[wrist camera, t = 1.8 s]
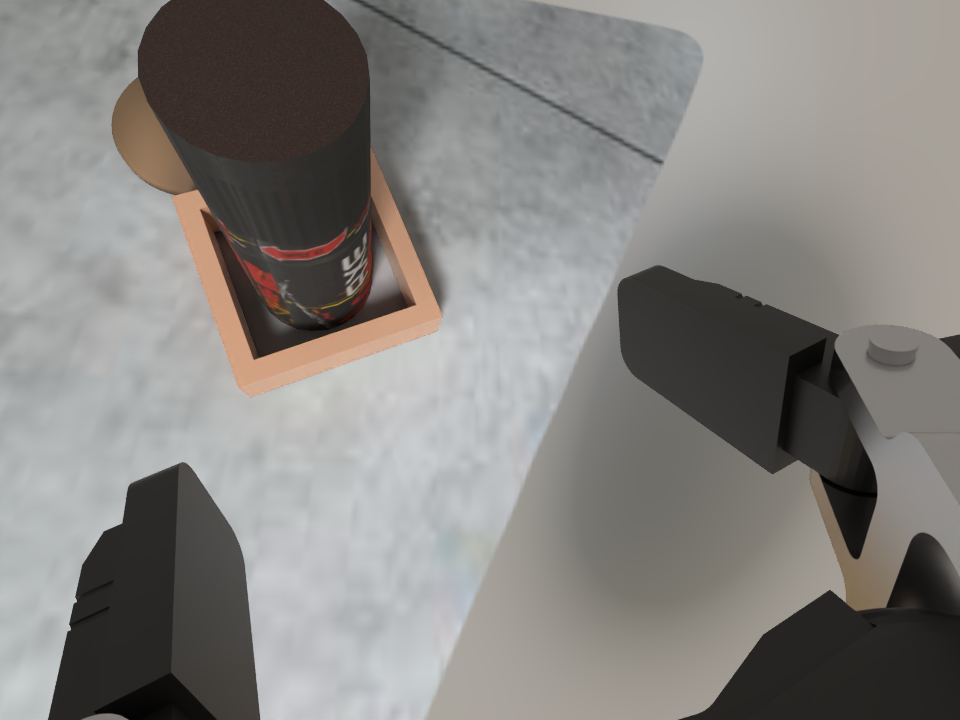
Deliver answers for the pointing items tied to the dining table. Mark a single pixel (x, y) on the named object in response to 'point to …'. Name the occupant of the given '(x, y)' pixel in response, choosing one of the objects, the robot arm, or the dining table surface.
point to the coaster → (147, 143)
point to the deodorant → (273, 142)
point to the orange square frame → (328, 349)
